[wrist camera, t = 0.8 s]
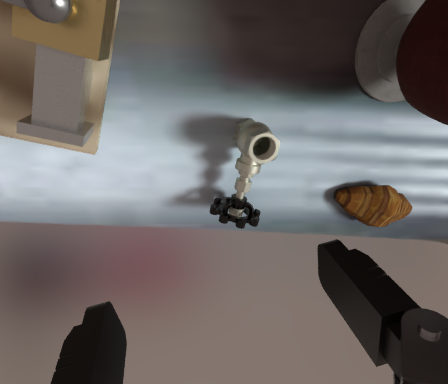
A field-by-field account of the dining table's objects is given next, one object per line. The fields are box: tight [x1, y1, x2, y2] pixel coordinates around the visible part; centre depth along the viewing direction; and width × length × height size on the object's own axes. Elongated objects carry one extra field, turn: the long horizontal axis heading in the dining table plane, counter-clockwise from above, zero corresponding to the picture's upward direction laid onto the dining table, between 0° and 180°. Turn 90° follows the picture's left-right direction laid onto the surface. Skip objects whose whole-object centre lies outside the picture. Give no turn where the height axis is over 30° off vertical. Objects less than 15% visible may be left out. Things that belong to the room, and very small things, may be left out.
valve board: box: [0, 0, 120, 155], centre depth 27 cm, size 26×13×2 cm, turn 163°
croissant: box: [334, 185, 412, 227], centre depth 44 cm, size 14×7×5 cm, turn 74°
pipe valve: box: [11, 0, 117, 147], centre depth 24 cm, size 21×6×8 cm, turn 163°
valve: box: [210, 119, 280, 229], centre depth 36 cm, size 7×7×12 cm
